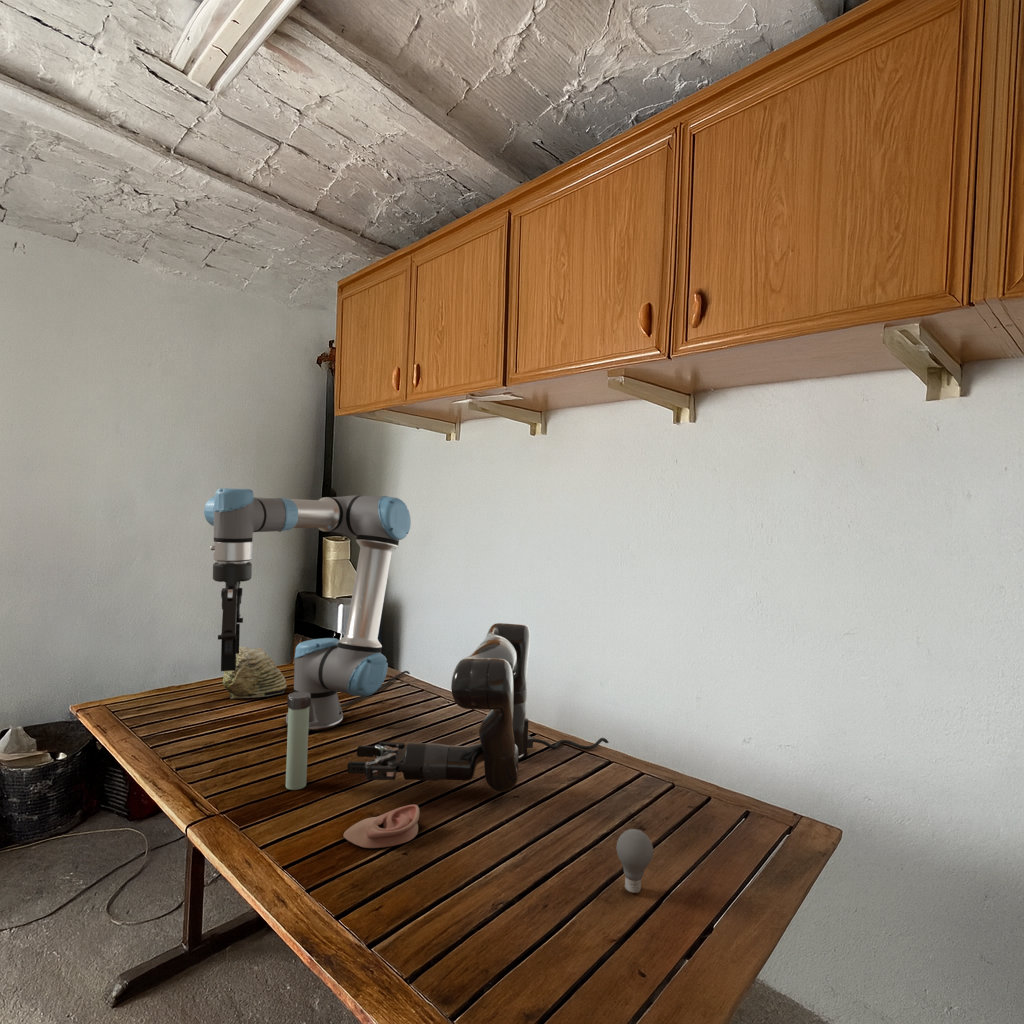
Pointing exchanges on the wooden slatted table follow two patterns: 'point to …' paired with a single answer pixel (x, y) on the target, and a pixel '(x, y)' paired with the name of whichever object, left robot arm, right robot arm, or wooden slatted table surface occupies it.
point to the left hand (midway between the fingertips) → (230, 661)
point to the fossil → (254, 675)
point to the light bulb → (634, 857)
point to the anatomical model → (385, 828)
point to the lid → (299, 700)
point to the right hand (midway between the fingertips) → (352, 758)
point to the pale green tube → (297, 748)
